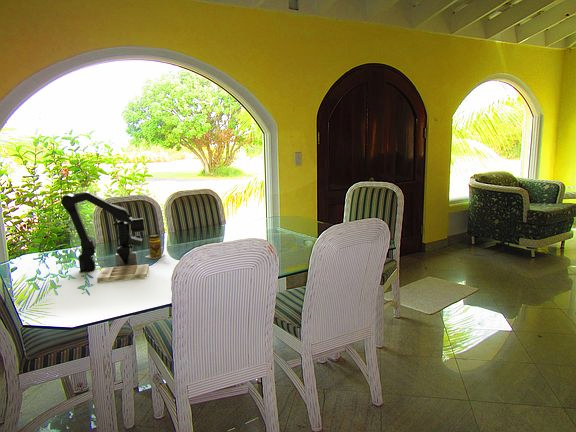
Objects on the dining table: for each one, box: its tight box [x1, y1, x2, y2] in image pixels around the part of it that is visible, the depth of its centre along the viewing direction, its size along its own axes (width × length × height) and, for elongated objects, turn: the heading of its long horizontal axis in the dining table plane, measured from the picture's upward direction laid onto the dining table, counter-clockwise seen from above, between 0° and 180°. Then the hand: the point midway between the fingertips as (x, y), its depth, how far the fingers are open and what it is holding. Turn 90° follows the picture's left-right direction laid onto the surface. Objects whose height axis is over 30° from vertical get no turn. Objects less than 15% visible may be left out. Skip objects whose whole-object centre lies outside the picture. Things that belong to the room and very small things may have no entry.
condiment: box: [144, 233, 165, 260], centre depth 251 cm, size 7×8×12 cm
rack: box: [96, 263, 150, 283], centre depth 223 cm, size 22×15×2 cm
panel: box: [115, 251, 139, 267], centre depth 236 cm, size 10×2×7 cm, turn 103°
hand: (126, 262), depth 236 cm, fingers open, 6 cm apart
